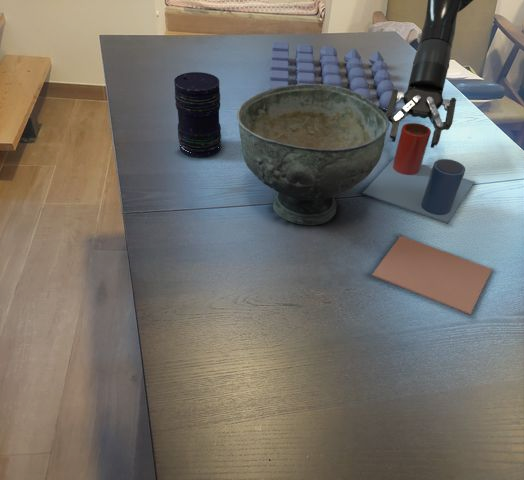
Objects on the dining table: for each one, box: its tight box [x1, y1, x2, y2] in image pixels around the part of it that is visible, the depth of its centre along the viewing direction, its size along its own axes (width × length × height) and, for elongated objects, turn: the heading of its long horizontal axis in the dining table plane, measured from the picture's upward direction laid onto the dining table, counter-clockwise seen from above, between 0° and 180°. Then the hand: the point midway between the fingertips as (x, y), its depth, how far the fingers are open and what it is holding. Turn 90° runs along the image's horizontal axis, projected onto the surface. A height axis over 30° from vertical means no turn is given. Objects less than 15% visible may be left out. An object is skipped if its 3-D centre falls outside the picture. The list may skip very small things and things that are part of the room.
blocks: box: [268, 41, 399, 112], centre depth 146 cm, size 35×34×5 cm
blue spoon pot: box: [421, 158, 466, 215], centre depth 103 cm, size 6×6×9 cm
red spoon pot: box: [393, 122, 432, 175], centre depth 114 cm, size 6×6×9 cm
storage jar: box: [173, 71, 222, 159], centre depth 114 cm, size 10×10×15 cm
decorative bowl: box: [236, 83, 390, 226], centre depth 98 cm, size 26×26×20 cm
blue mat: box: [362, 158, 475, 224], centre depth 112 cm, size 19×19×1 cm
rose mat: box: [371, 235, 493, 316], centre depth 93 cm, size 18×14×1 cm
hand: (412, 143), depth 112 cm, fingers open, 8 cm apart
